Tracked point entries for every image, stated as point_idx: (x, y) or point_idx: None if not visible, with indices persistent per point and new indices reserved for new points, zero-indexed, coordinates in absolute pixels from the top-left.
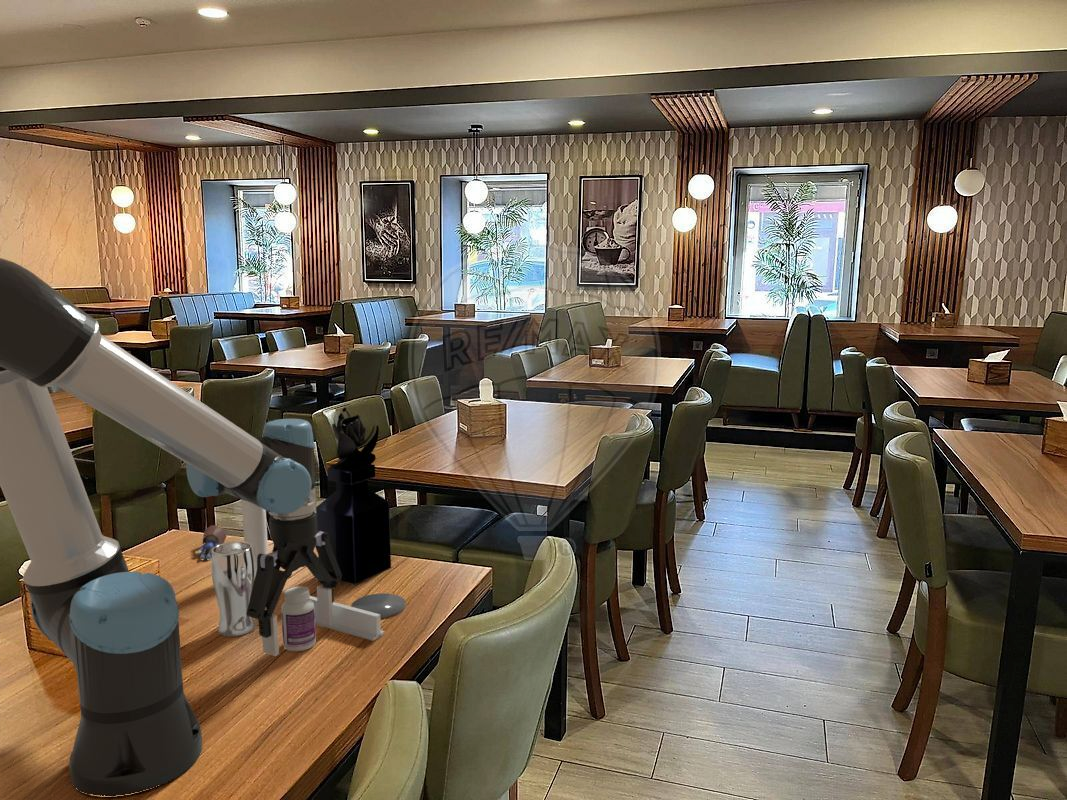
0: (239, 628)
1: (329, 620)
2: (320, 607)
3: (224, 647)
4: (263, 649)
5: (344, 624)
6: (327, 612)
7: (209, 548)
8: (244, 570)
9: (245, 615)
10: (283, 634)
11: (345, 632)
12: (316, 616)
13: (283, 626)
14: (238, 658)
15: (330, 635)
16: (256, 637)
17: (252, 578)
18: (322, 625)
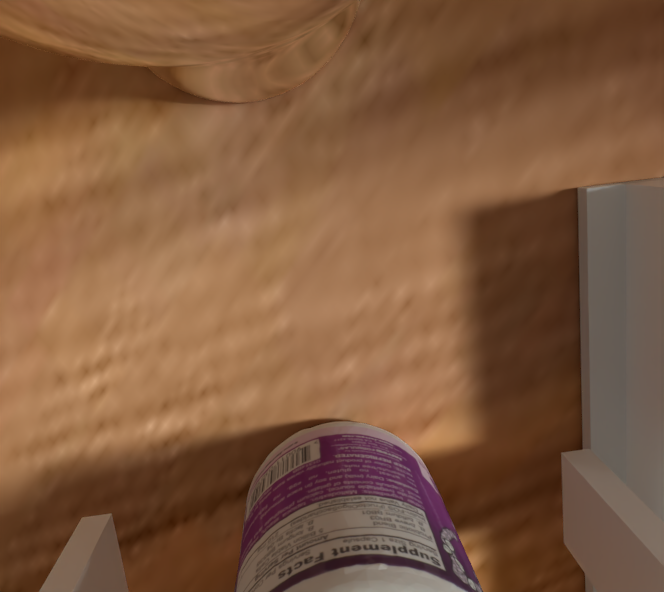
0: (174, 76)
1: (579, 563)
2: (619, 543)
3: (18, 152)
4: (75, 533)
5: None
6: (605, 590)
7: None
8: (40, 18)
9: (225, 67)
10: (243, 535)
11: (587, 582)
12: (634, 345)
13: (235, 586)
14: (5, 359)
15: (520, 539)
16: (242, 204)
17: (324, 19)
18: (585, 420)
